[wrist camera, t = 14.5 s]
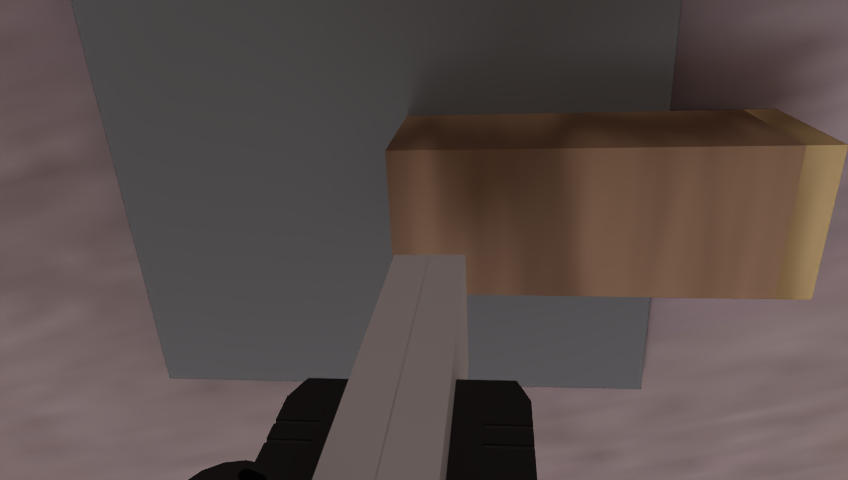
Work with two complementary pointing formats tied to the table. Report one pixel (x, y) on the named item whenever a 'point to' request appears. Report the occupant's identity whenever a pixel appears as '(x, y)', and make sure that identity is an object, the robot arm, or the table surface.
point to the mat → (345, 166)
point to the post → (618, 201)
